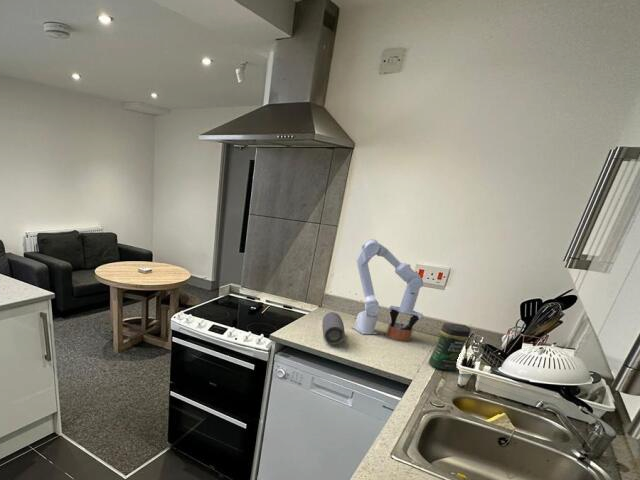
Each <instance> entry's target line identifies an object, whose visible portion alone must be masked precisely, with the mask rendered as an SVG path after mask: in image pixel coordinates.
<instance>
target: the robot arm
mask: <svg viewBox="0 0 640 480" xmlns="http://www.w3.org/2000/svg"><path fill="white" fill-rule="evenodd" d="M375 256H377V257H381V258H384V259H385V260H386V261H387V262H388V263H389V264H390V265H391V266H393V268H394V273H395V274H396V275H397V276H398V277H399V278H400V279H401V280H402V281H403V282H405V283H406V284H407V285H406V286H405V290H404V293H403V296H402V300H401V303H400V306H396V305H390V306H389V308H388V310H389V311H390V312H389V315H390V320H391V321H390V323H391V326H393V325H394V324H395V323H397V318H398V316H399V314H404V315H408V316H410V319H409V321H410V323H409V325H408V329H407V330H411V328H413V327H414V326H415V324H416V323H417V322H418V321H419V320H420V319H422V318H423V316H424V314H423V313H421V312H418V311H416V310H414V309H415V306H416V303H417V299H418V297H419V294H420V293H419V292H420V290H421V288H422V287H423V286H424V280H423V278H422V277H421V275H419V273H418V272H417V271H415V270H414V269H412V267H411V264H410V263H406V262H401V261H400V260H399V259H397V257H396V256H395V255H394V254H393V253H392V252H391V251H390V250H389V248H387V247H386V246H384V244H381V243H379V242H378V241H377V240H376V239H373V238H372V239H368V240H366V241H365V242H364V244H363V245H361V248H360V251H359V253H358V256H357V259H356V264H357V270H358V275H359V278H360V282H361V287H362V292H363V295H364V301H365V303H364V310H363V311H360V312H359V313H358V314H357V315H356V320H355V324H354V326H352V329H355V330H356V331H358V332H359V333H360V334H361V335H378V332H376V331H375V329H376V325H377V321H378V317H379V314H380V311H381V306H380V305H379V301H378V300H377V299H376V294H375V291H374V290H375V289H374V286H373V282H372V281H373V280H372V276H371V272H370V268H369V262H370V261H371V260H372V258H373V257H375Z"/></svg>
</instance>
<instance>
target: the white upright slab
mask: <svg viewBox="0 0 640 480" xmlns="http://www.w3.org/2000/svg"><path fill="white" fill-rule="evenodd" d="M395 323H396V324H394V325H393V327H394V328H397V329H401V330H402V329H405V328H406V327H407V326H409V323H410V320H407V321H406V322H404V323H403V324H404V325H403V326H401V324H402V323H401V324H400V323H399V322H395Z"/></svg>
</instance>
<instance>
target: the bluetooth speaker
mask: <svg viewBox="0 0 640 480" xmlns="http://www.w3.org/2000/svg"><path fill="white" fill-rule="evenodd" d="M321 327H322V334H323V337H324V340H325V341H326V342H327V343H328V344H329V345H338V344H341V343H342V342H343V341H344V340H345V335H346V331H345V325H344V322H343V319H342V317H341V316H340V314H339V313H337V312H335V311H331V312H328V313H326V314H325V315H324V316H323V317H322V325H321Z"/></svg>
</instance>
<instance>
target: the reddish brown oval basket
mask: <svg viewBox="0 0 640 480" xmlns="http://www.w3.org/2000/svg"><path fill="white" fill-rule="evenodd" d="M396 323H397V322H395V324H396ZM400 324H401V326H403V325H404V324H405V323H400ZM408 326H409V325H408ZM408 326H407V327H406V328H405V329H402V330H401V329H397V328H394V327H393V326H391V322H389V323H388V325H387V327H386V331H385V336H386V337H387V338H389V339H391V340H394V341H398V342H410V341H411V339H412V335H413V333H414V329H415V328H413V327H412V328H411V330H407V329H408Z"/></svg>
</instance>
